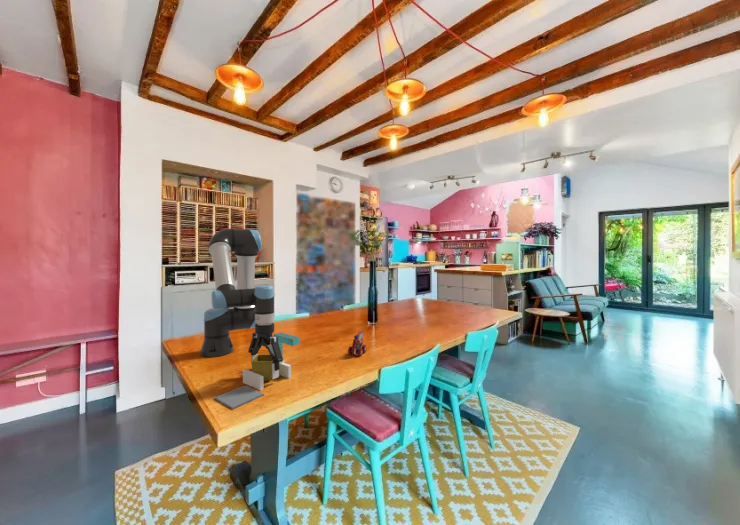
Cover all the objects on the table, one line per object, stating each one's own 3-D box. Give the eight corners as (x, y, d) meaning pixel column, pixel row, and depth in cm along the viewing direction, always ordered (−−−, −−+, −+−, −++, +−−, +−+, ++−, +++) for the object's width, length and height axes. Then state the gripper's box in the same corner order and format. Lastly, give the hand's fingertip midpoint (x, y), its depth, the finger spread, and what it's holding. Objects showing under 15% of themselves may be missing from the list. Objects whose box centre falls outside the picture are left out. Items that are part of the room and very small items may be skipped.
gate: (273, 363, 140) (273, 334, 139) (280, 360, 143) (280, 332, 142) (292, 369, 132) (292, 339, 131) (299, 366, 135) (299, 337, 135)
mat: (214, 398, 107) (214, 397, 107) (245, 386, 117) (245, 385, 117) (232, 409, 100) (232, 407, 100) (263, 395, 110) (263, 393, 110)
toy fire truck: (346, 356, 151) (346, 336, 151) (355, 349, 163) (355, 330, 162) (359, 358, 149) (359, 337, 148) (367, 350, 160) (367, 331, 160)
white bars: (234, 378, 124) (233, 366, 124) (282, 361, 144) (282, 350, 144) (260, 390, 114) (260, 377, 114) (308, 369, 134) (308, 358, 134)
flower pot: (257, 374, 128) (257, 354, 128) (278, 374, 129) (278, 353, 129) (251, 383, 120) (250, 361, 119) (273, 383, 120) (273, 361, 120)
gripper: (239, 320, 128) (239, 369, 128) (276, 329, 113) (276, 384, 114) (254, 317, 134) (255, 364, 134) (291, 325, 119) (292, 378, 120)
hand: (265, 373), depth 124 cm, fingers open, 13 cm apart
